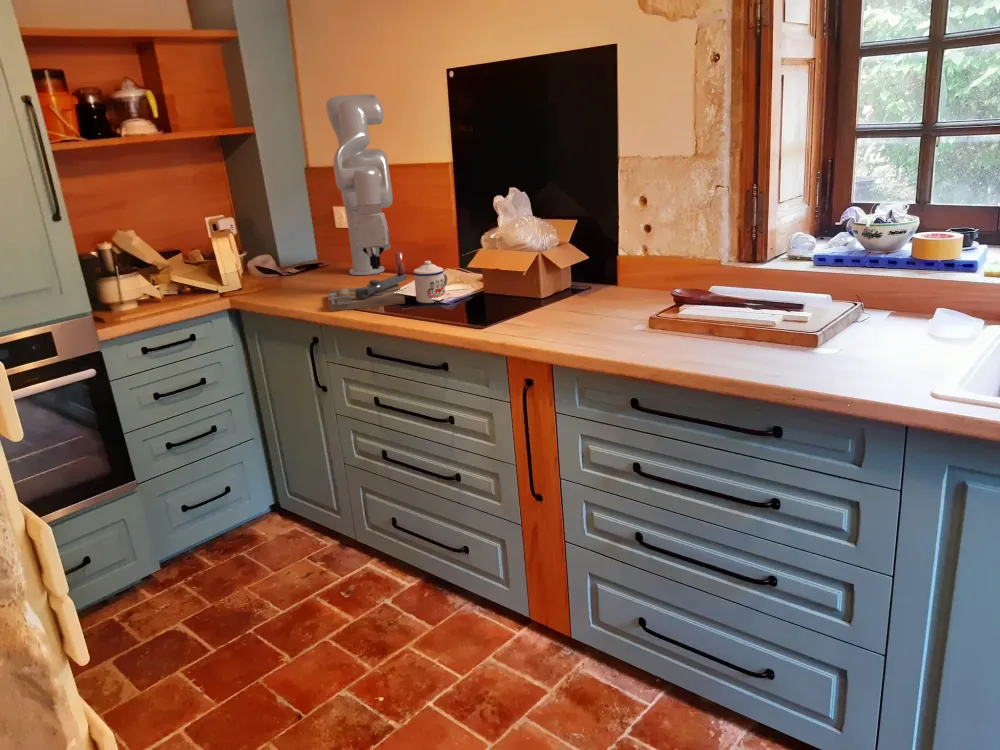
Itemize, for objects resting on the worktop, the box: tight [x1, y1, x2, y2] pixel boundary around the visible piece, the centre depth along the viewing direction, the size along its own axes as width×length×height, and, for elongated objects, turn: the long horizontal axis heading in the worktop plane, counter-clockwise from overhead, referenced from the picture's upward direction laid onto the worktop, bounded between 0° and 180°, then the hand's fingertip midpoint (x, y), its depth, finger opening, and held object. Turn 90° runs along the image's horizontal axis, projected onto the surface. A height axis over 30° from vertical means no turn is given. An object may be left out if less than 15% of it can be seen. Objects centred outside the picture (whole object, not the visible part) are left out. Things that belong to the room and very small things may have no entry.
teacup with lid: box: [412, 260, 449, 304], centre depth 225 cm, size 12×9×12 cm
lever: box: [355, 251, 407, 299], centre depth 230 cm, size 23×5×10 cm, turn 155°
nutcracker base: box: [327, 279, 406, 312], centre depth 229 cm, size 21×22×6 cm
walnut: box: [336, 287, 350, 297], centre depth 221 cm, size 4×4×4 cm
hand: (376, 268), depth 240 cm, fingers closed
